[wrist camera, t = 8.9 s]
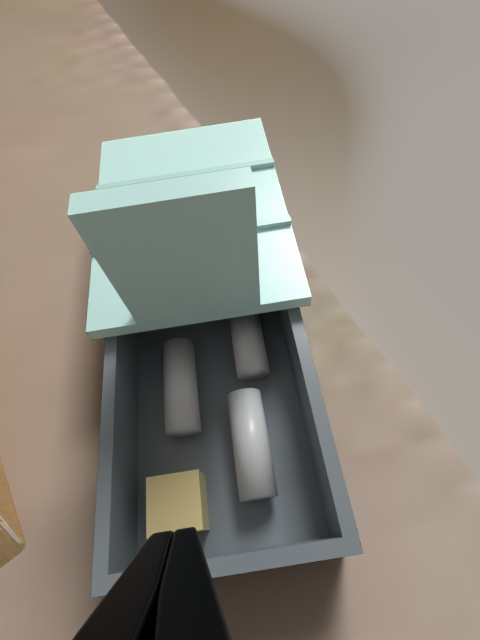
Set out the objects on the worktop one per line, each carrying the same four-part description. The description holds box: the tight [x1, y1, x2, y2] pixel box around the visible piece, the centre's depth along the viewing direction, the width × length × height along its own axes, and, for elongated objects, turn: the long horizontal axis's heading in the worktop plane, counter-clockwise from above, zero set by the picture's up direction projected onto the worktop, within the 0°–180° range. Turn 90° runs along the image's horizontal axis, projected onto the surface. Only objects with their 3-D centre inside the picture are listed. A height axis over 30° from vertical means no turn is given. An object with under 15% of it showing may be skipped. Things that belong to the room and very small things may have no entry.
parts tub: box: [91, 307, 364, 598], centre depth 19 cm, size 14×10×4 cm
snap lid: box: [67, 118, 312, 339], centre depth 19 cm, size 15×11×8 cm
